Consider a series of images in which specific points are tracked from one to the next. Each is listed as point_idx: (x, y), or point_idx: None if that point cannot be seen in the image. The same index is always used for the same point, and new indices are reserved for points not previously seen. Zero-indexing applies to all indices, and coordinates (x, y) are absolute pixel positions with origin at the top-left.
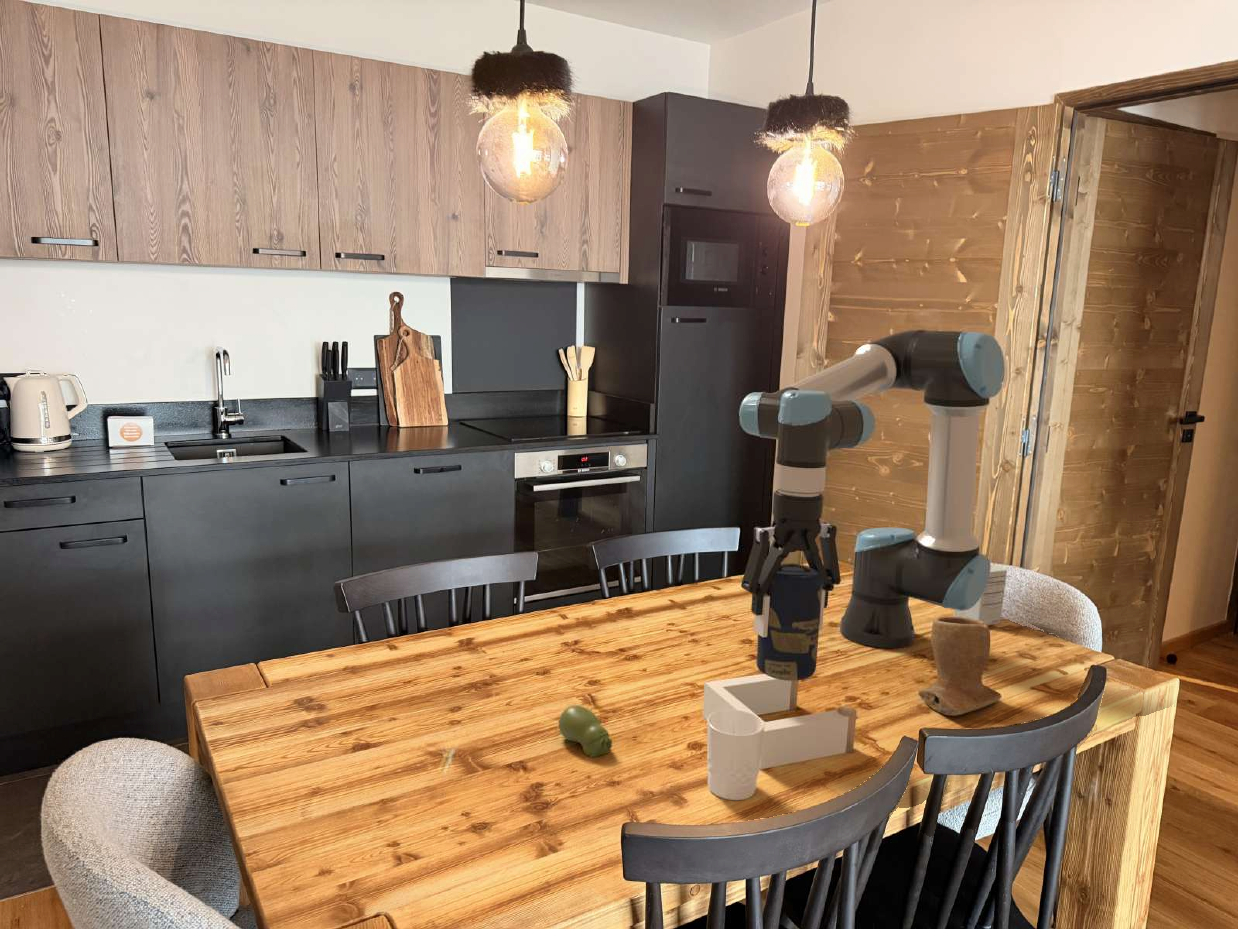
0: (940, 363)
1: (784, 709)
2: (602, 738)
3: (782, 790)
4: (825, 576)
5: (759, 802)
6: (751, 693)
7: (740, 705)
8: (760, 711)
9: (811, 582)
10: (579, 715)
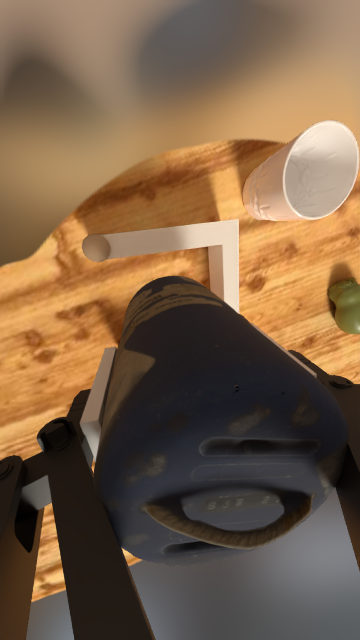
0: None
1: None
2: (354, 284)
3: (218, 172)
4: (63, 484)
5: (253, 154)
6: None
7: (228, 294)
8: None
9: (209, 382)
10: None
